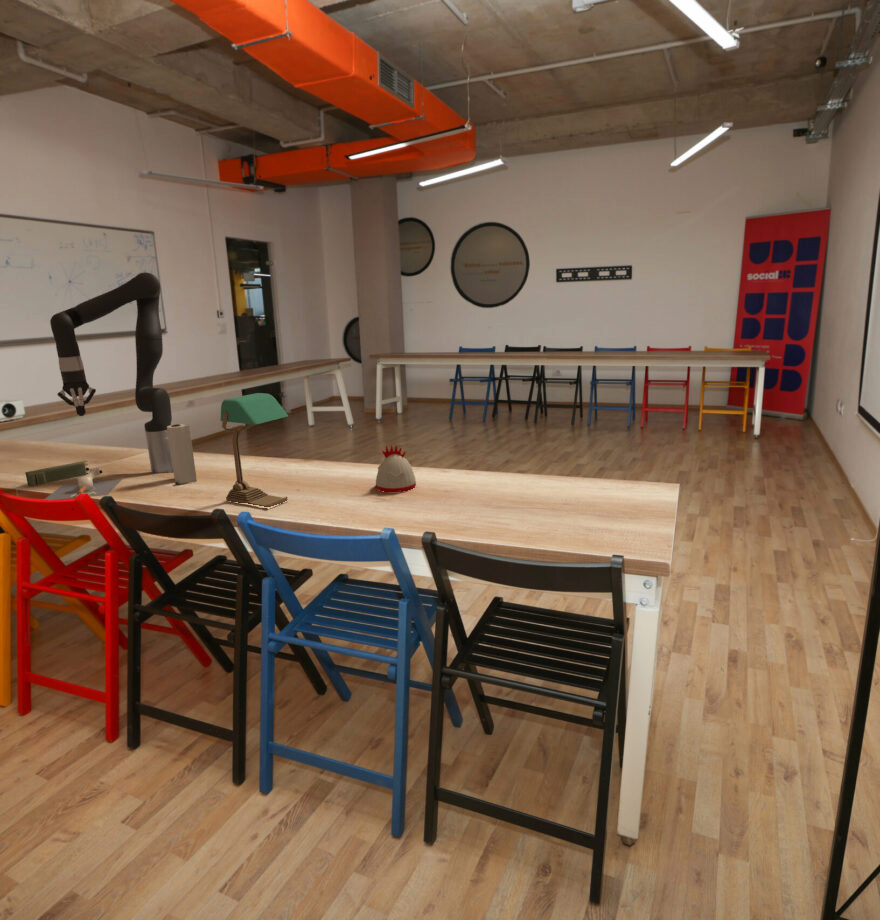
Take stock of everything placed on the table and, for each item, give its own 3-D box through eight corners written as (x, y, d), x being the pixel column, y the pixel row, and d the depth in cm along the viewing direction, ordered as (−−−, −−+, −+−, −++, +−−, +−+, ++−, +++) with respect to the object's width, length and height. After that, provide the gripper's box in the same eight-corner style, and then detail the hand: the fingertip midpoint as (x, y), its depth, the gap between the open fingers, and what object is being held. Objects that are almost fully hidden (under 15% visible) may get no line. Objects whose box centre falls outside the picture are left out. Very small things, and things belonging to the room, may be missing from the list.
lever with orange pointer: (87, 494, 211) (85, 482, 210) (73, 496, 210) (71, 484, 209) (102, 477, 232) (100, 466, 230) (89, 479, 230) (87, 468, 229)
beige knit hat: (376, 482, 221) (373, 441, 217) (414, 480, 222) (413, 439, 218) (376, 494, 207) (373, 450, 203) (416, 491, 208) (415, 448, 204)
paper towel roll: (172, 482, 228) (163, 425, 223) (188, 478, 233) (180, 422, 227) (181, 485, 224) (172, 428, 218) (197, 481, 228) (189, 425, 222)
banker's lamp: (254, 491, 215) (242, 390, 206) (299, 499, 204) (289, 394, 195) (217, 504, 201) (203, 398, 192) (263, 513, 191) (251, 402, 182)
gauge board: (122, 482, 231) (122, 478, 230) (107, 498, 212) (107, 494, 212) (64, 487, 227) (63, 483, 226) (43, 504, 208) (42, 499, 207)
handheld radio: (28, 488, 227) (101, 473, 244) (30, 490, 225) (104, 475, 242) (24, 471, 225) (98, 457, 242) (27, 473, 223) (101, 459, 240)
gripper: (92, 366, 230) (102, 411, 235) (51, 369, 225) (62, 416, 230) (92, 368, 224) (101, 415, 229) (50, 372, 218) (60, 419, 223)
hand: (81, 415), depth 229 cm, fingers closed
